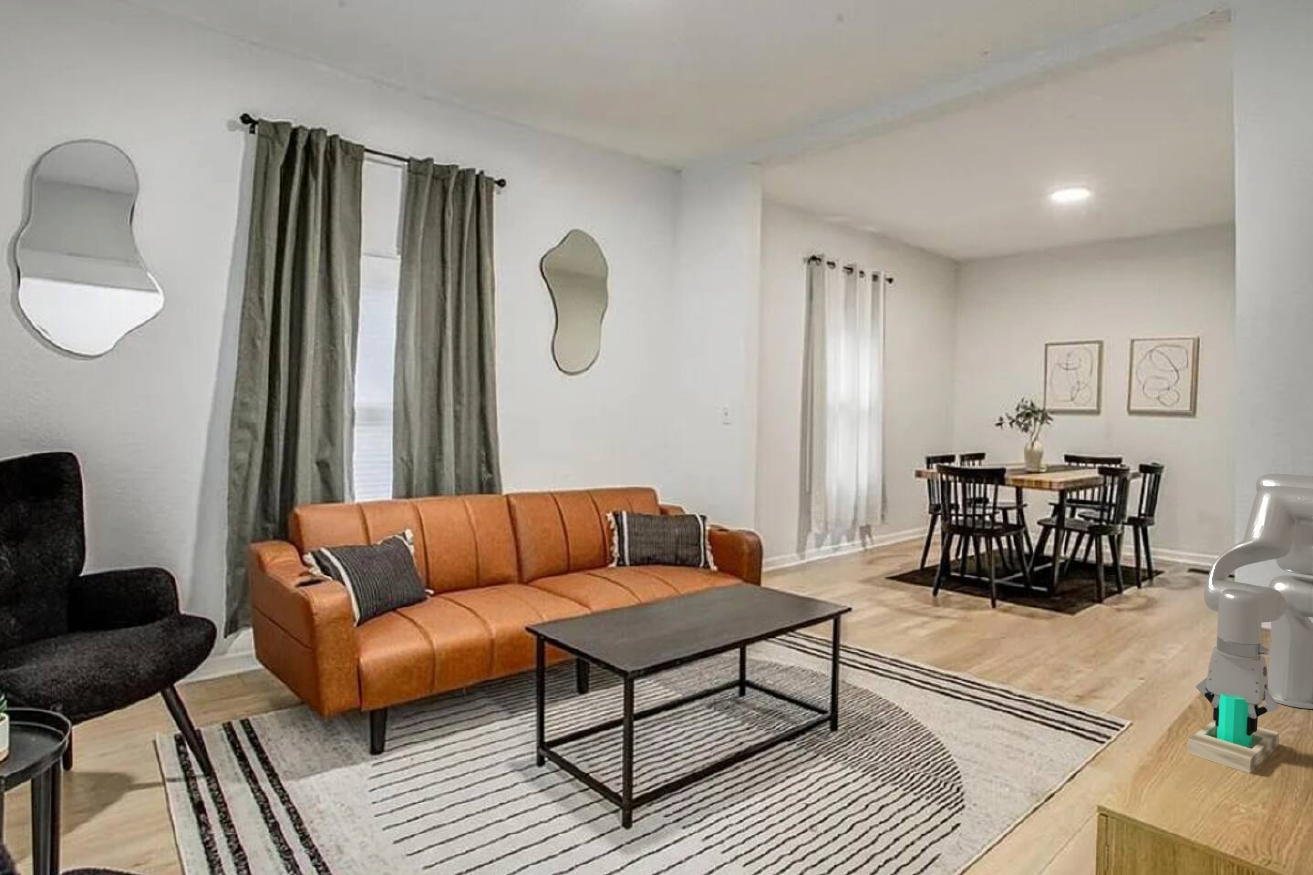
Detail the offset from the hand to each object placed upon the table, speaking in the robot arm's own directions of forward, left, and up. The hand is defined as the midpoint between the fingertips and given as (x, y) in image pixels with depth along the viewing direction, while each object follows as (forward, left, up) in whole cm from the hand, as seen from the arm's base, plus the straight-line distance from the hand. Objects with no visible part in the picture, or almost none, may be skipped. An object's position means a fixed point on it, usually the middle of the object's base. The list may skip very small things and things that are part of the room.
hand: (1234, 728), depth 165 cm
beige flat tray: (0, 0, -5) cm, 5 cm away
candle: (0, 0, -3) cm, 3 cm away
